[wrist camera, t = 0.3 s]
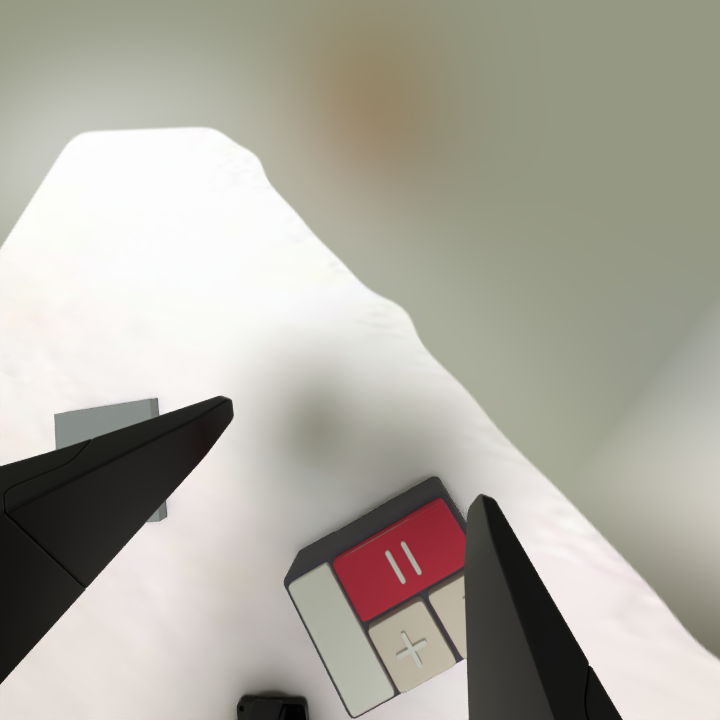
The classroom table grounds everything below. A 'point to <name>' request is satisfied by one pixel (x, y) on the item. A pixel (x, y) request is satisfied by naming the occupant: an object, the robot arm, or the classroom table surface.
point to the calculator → (386, 597)
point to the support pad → (104, 427)
